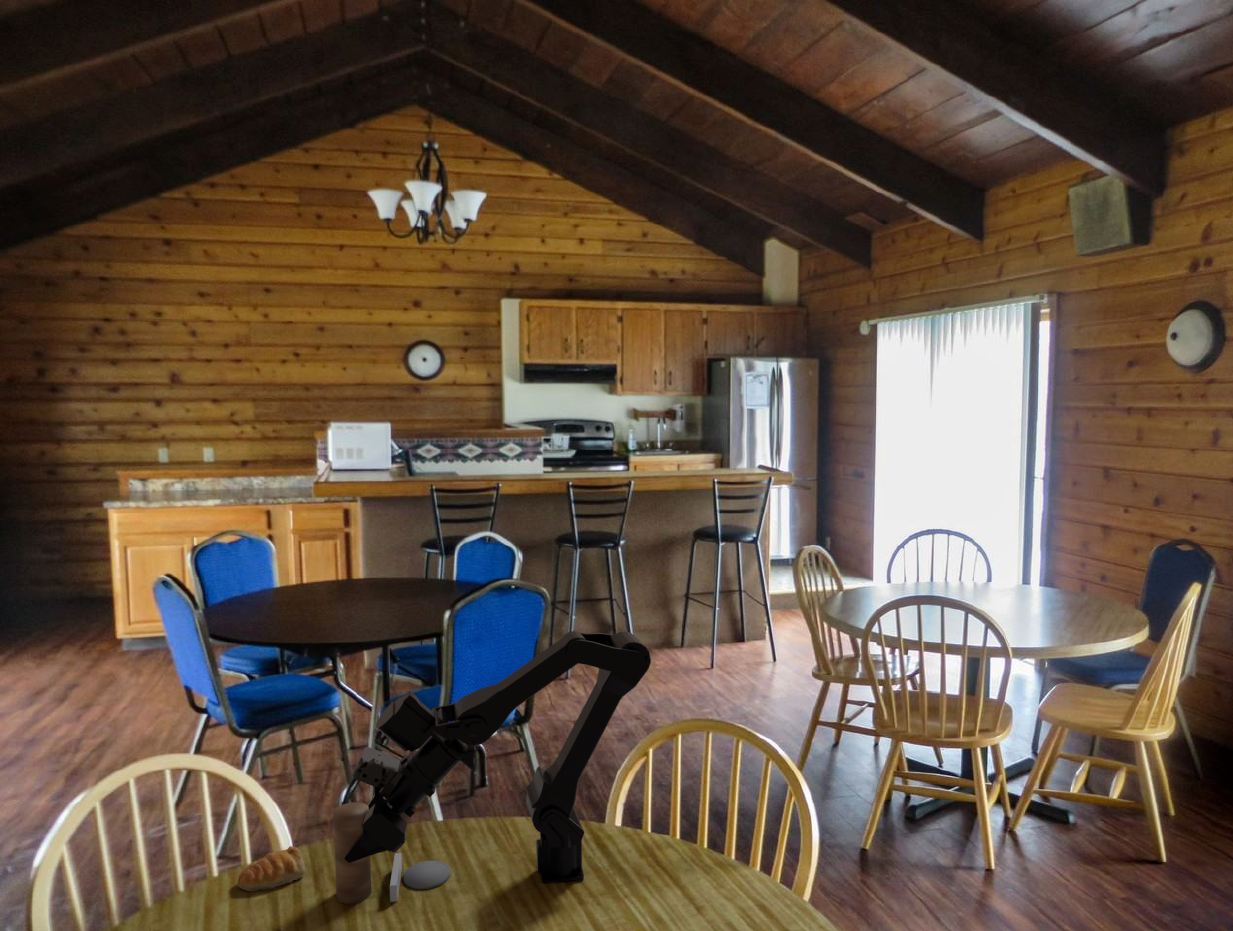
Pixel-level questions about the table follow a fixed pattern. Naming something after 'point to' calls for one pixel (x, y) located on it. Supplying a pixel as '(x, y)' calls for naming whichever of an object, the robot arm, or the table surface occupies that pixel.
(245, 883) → the pastry
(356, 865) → the walnut post
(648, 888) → the table surface
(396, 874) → the acrylic wall
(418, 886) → the slate mat
